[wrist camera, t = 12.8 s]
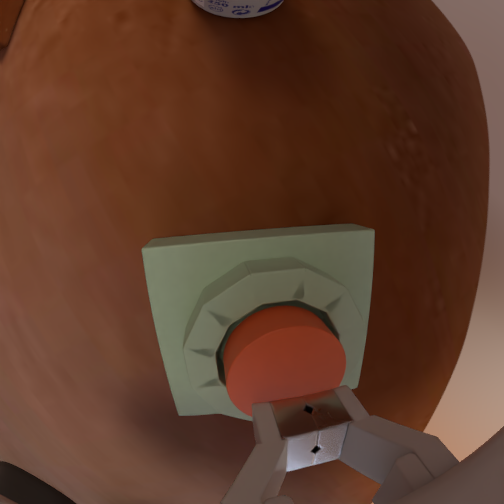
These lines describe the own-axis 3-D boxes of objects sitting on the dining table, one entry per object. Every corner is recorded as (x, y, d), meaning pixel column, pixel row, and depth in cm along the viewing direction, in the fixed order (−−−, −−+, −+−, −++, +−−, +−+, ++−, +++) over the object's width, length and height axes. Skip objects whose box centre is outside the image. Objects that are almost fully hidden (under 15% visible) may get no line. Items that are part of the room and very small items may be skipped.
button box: (352, 223, 14) (399, 236, 10) (343, 367, 16) (371, 406, 12) (151, 238, 12) (128, 259, 9) (180, 391, 14) (176, 440, 11)
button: (332, 297, 10) (352, 316, 9) (325, 384, 11) (339, 408, 10) (217, 311, 10) (219, 335, 8) (228, 400, 11) (232, 428, 9)
